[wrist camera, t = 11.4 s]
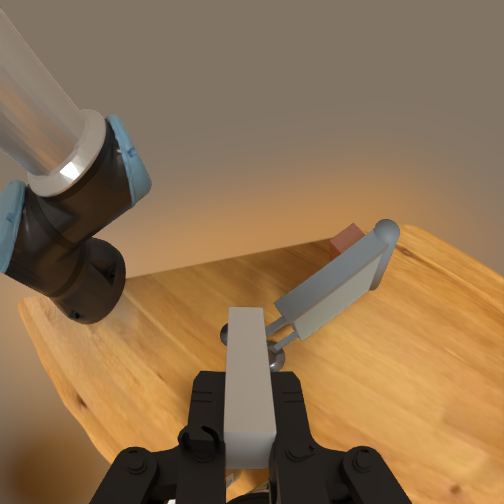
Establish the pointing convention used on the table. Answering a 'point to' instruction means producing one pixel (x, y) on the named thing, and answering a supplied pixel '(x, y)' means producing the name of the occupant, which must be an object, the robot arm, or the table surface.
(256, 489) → the coffee cup
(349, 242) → the gate posts
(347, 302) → the gate
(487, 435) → the table surface
